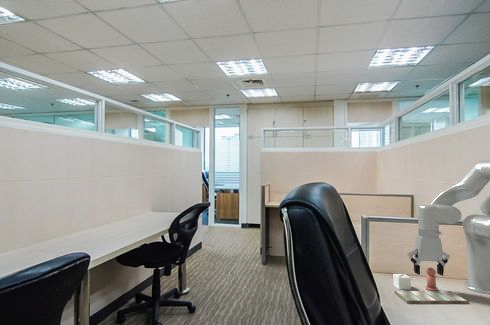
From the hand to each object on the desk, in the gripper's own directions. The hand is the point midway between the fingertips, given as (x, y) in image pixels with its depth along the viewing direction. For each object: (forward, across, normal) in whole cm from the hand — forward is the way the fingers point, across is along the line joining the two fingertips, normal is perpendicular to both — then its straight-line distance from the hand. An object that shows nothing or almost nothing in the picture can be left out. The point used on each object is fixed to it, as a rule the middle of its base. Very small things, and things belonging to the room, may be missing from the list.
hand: (428, 274), depth 126 cm
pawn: (+6, -1, 0) cm, 7 cm away
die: (+7, +10, -3) cm, 12 cm away
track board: (+7, +5, +9) cm, 12 cm away
